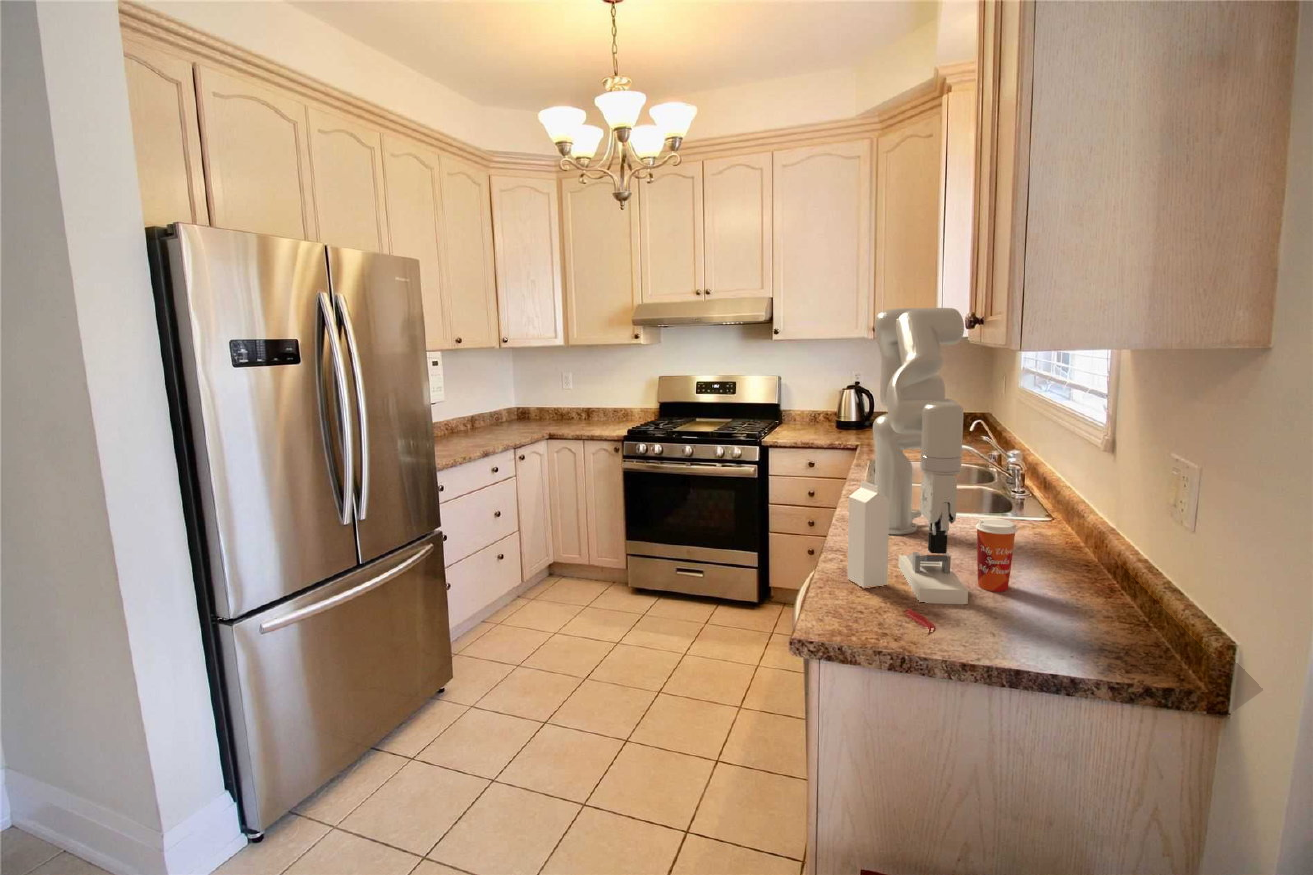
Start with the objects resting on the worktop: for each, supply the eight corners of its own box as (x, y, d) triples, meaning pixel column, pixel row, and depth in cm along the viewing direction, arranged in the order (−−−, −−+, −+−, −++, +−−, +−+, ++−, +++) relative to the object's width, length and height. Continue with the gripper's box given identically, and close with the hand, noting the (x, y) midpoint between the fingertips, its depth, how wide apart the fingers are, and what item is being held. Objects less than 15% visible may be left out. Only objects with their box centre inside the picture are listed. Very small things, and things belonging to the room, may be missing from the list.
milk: (870, 576, 145) (873, 479, 142) (887, 586, 139) (891, 484, 136) (846, 580, 143) (848, 481, 140) (863, 590, 137) (866, 487, 134)
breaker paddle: (916, 561, 143) (916, 555, 143) (935, 561, 142) (935, 555, 142) (926, 561, 134) (926, 554, 134) (947, 561, 133) (947, 555, 134)
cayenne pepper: (938, 639, 116) (939, 629, 115) (911, 637, 117) (911, 626, 116) (927, 611, 127) (927, 602, 127) (902, 609, 128) (902, 600, 128)
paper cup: (977, 592, 134) (980, 526, 132) (968, 579, 142) (971, 516, 140) (1019, 595, 133) (1023, 528, 130) (1008, 581, 140) (1012, 518, 138)
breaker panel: (898, 567, 150) (899, 539, 149) (939, 568, 148) (941, 540, 147) (919, 602, 130) (920, 570, 129) (967, 604, 129) (969, 571, 128)
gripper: (912, 457, 139) (909, 540, 142) (930, 471, 124) (927, 564, 127) (949, 457, 138) (946, 541, 141) (972, 471, 123) (968, 565, 126)
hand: (937, 552), depth 134 cm, fingers closed
